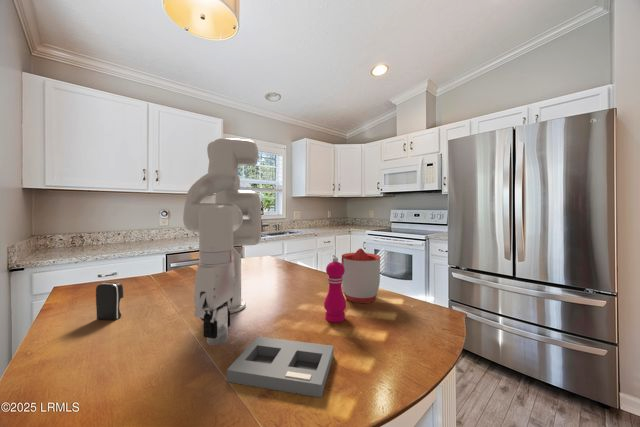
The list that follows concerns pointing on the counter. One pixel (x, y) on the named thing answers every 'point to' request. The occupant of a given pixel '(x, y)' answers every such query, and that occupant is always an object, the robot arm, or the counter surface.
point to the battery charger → (108, 300)
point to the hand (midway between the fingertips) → (217, 330)
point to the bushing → (220, 325)
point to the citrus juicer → (361, 276)
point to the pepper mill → (335, 292)
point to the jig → (283, 366)
